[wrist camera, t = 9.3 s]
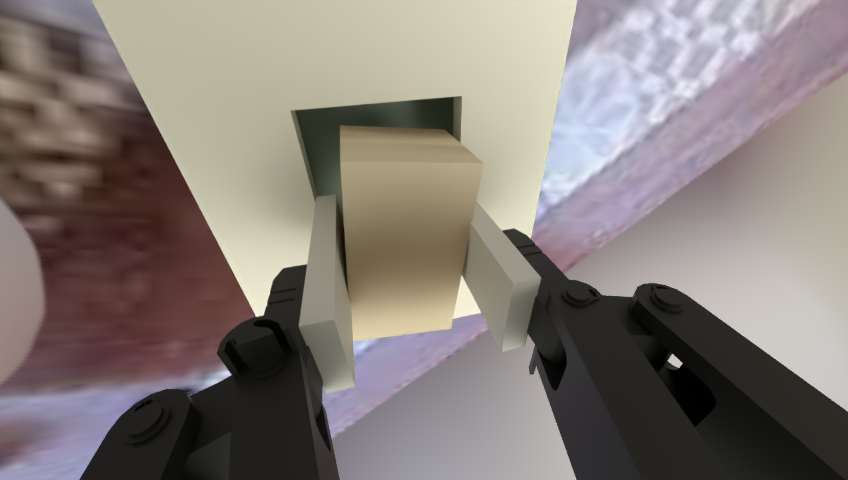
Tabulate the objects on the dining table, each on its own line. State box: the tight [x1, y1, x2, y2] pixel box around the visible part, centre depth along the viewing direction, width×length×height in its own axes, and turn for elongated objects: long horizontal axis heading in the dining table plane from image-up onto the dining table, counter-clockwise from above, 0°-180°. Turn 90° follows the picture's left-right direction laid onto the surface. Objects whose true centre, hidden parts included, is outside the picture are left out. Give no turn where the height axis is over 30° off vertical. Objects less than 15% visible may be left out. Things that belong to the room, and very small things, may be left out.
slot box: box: [92, 0, 577, 319], centre depth 17 cm, size 15×14×10 cm
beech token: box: [340, 125, 484, 341], centre depth 12 cm, size 7×4×4 cm, turn 175°
